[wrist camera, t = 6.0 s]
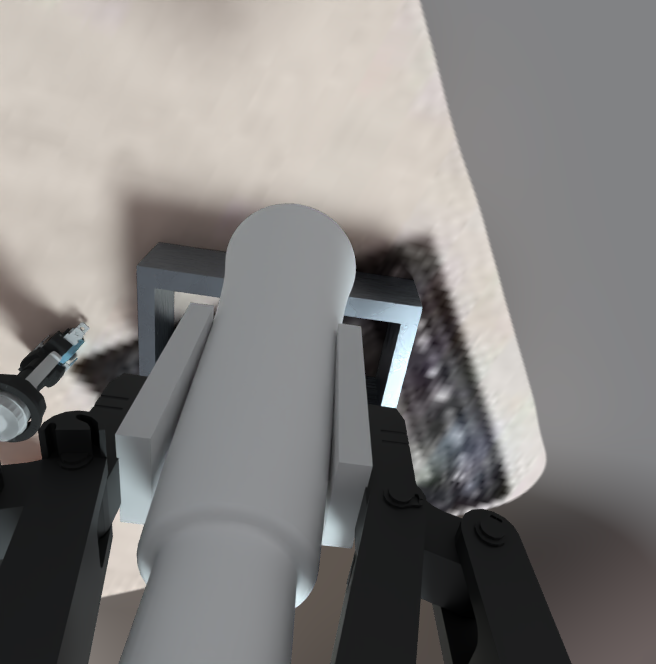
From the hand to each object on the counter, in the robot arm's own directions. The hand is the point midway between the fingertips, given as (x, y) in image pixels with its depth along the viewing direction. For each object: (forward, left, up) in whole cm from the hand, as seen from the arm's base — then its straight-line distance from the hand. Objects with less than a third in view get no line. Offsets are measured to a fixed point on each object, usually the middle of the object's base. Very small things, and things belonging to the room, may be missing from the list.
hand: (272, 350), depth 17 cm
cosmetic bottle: (0, 0, -8) cm, 8 cm away
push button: (+16, -19, -23) cm, 34 cm away
